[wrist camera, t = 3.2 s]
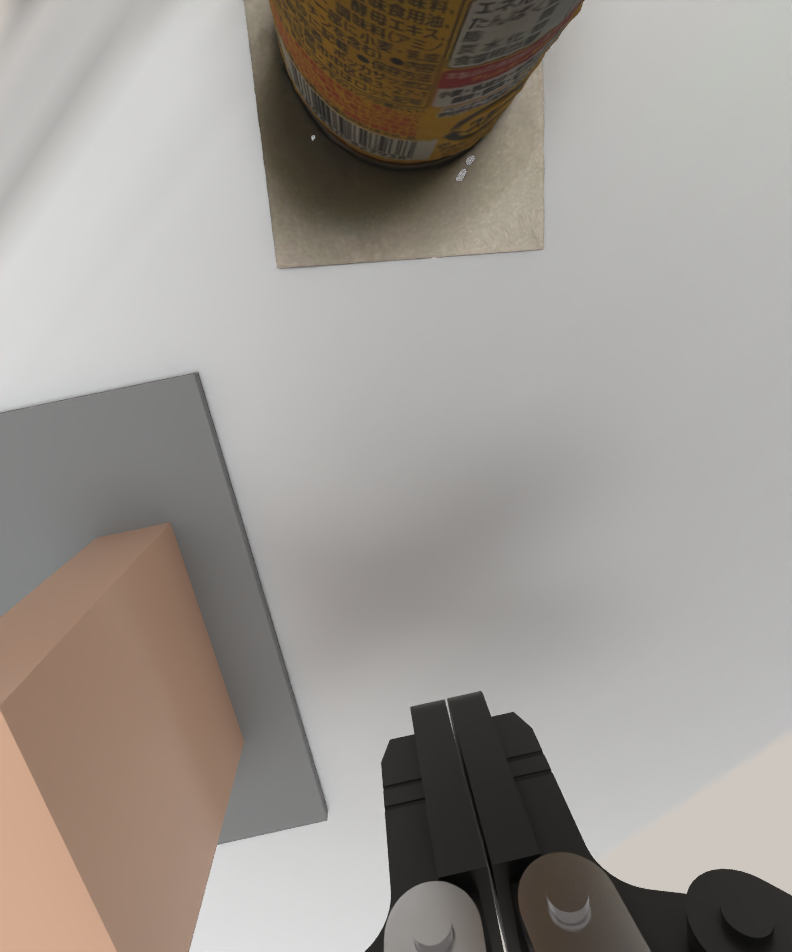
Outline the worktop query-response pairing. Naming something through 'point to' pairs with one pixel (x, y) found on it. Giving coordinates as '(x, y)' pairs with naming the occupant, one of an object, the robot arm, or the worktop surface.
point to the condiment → (402, 125)
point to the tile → (111, 753)
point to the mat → (201, 545)
